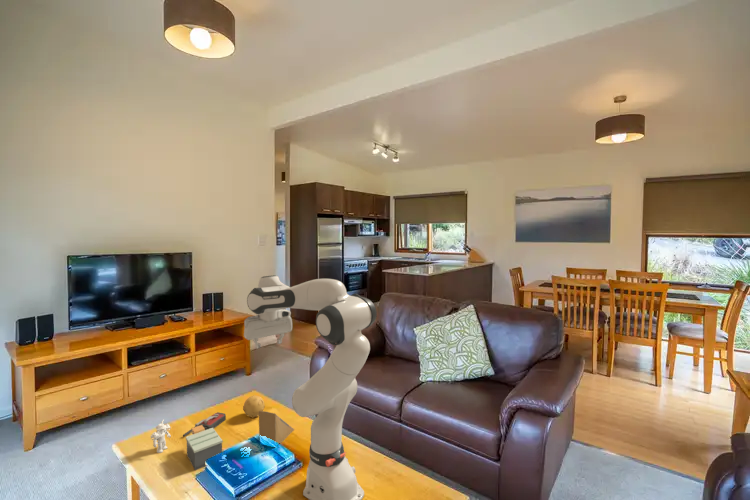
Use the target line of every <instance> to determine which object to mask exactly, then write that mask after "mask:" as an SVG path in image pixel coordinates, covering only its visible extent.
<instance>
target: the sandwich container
mask: <svg viewBox="0 0 750 500" xmlns="http://www.w3.org/2000/svg"><path fill="white" fill-rule="evenodd" d="M258 428H259V429H258V433H259V434H258V435H259V436H260V435H261V436H266V437H267V438H270V439H272V440H274V441H276V442H278V443H280V444H282V442H284V441H285V440H286V439H287V438H288V437H289V436H290V435H291V434H292V433H293V432H294V431H295V428H293V427H292V426H291V425H289V424H288V423H287V422H286V421H285V420H284V419H282V418H281V417H280V416H279V415H278V414H276V413H275V412H274V413H273V412H270V411H264V410H263V411H259V415H258Z"/></svg>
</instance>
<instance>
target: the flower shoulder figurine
mask: <svg viewBox="0 0 750 500" xmlns="http://www.w3.org/2000/svg"><path fill="white" fill-rule="evenodd" d="M164 421H165V418H163V419H162V421H160V423H159V424H157V426H156V427H155V430H156V431H153V432H152V434H150V439H151V440H152V441H153V444H152V447H153V448H157V449H156V453H157V454H161V453H164V450H166V449H168V446H167V445H166V444H167V443H166V438H165V437H167V438H171V434H170V432H169V431H170V430H171V426H170V423H166V424H164Z"/></svg>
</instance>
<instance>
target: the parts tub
mask: <svg viewBox="0 0 750 500" xmlns="http://www.w3.org/2000/svg"><path fill="white" fill-rule="evenodd" d="M221 452H222V453H223V442H222V443H220V444H217V445H214V446H212V447H209V448H207V449H204V450H201V451H199V452H196V453H194V452H193V450H192V448H191V447H190V445H189V443H188V441H187V440H186V456H187V458H188V460H189V462H190V464H191V466H192V467H193V470H194V471H197V470H200V469H202V468H205V467H206V466H205V461H206V459H208V458H210V457H212V456H214V455H216V454H218V453H221Z"/></svg>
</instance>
